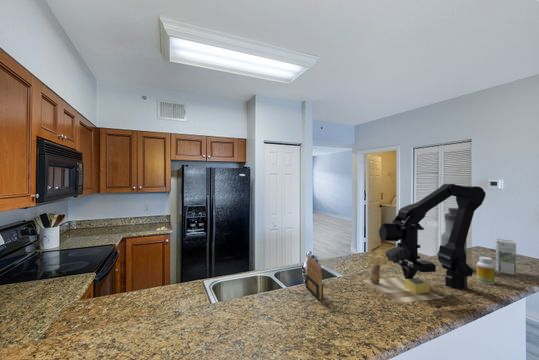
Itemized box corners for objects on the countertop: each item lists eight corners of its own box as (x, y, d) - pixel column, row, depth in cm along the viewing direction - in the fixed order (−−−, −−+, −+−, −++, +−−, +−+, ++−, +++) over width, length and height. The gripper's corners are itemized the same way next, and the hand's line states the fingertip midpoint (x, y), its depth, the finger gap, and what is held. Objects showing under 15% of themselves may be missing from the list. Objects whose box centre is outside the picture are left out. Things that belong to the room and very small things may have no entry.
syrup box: (512, 271, 112) (512, 239, 112) (516, 275, 107) (516, 242, 107) (495, 269, 115) (495, 238, 115) (498, 273, 110) (498, 240, 110)
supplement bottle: (495, 285, 96) (495, 260, 96) (477, 282, 99) (477, 258, 99) (493, 281, 100) (493, 257, 100) (476, 278, 103) (476, 255, 103)
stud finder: (417, 286, 92) (417, 276, 92) (429, 291, 87) (429, 282, 87) (404, 287, 90) (404, 278, 90) (415, 293, 86) (415, 283, 86)
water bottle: (444, 261, 125) (444, 206, 125) (468, 266, 118) (468, 208, 118) (438, 266, 118) (438, 208, 119) (464, 271, 111) (464, 209, 111)
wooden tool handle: (376, 281, 96) (376, 263, 96) (381, 284, 93) (381, 265, 93) (369, 281, 95) (369, 263, 96) (374, 284, 93) (374, 266, 93)
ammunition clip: (323, 300, 82) (323, 264, 82) (318, 300, 81) (318, 264, 82) (310, 287, 92) (310, 255, 92) (305, 287, 92) (305, 255, 92)
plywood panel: (402, 279, 101) (402, 276, 101) (443, 301, 82) (443, 298, 82) (362, 282, 97) (362, 279, 97) (397, 306, 79) (397, 302, 79)
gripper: (374, 236, 100) (373, 274, 100) (409, 248, 82) (408, 295, 82) (398, 235, 102) (397, 273, 102) (437, 247, 84) (436, 293, 84)
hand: (408, 282), depth 92 cm, fingers closed
